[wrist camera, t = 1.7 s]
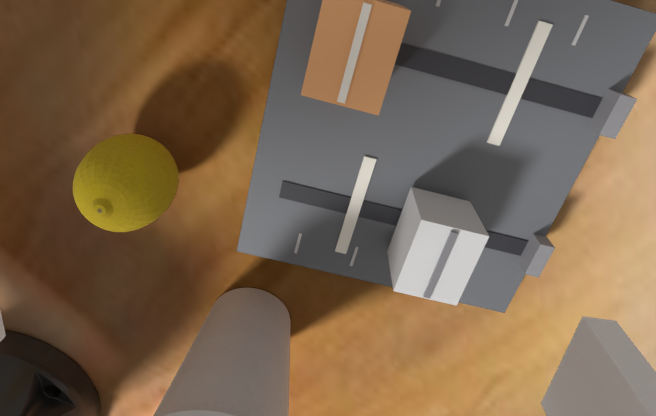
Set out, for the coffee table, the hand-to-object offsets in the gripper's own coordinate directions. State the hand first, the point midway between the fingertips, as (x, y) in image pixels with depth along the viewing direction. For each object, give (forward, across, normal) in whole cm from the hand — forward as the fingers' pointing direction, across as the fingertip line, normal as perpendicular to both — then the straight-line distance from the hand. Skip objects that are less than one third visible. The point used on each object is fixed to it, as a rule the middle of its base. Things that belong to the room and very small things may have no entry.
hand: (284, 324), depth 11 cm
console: (+22, +7, -2) cm, 23 cm away
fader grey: (+20, +8, -7) cm, 22 cm away
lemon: (+22, -11, -6) cm, 25 cm away
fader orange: (+20, +1, +4) cm, 20 cm away
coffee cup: (+22, -3, -19) cm, 29 cm away
